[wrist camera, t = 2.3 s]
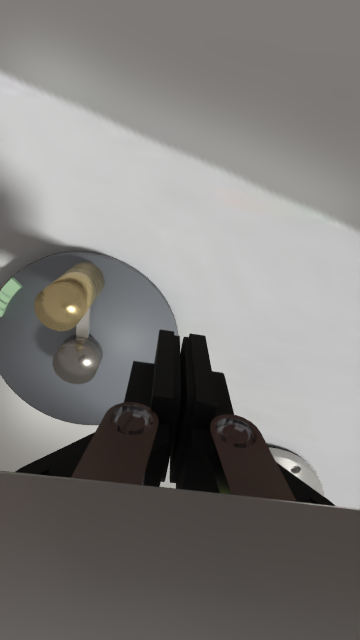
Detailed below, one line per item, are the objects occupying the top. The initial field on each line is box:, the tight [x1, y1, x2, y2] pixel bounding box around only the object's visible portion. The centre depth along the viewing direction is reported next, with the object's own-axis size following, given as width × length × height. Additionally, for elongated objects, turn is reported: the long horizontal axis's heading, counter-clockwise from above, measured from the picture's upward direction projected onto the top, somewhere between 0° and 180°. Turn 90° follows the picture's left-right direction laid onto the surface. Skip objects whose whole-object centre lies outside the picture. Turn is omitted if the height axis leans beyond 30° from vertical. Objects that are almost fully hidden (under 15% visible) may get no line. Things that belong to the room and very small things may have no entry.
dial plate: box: [0, 252, 178, 425], centre depth 25 cm, size 14×14×2 cm
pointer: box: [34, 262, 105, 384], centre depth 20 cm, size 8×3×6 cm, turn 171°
